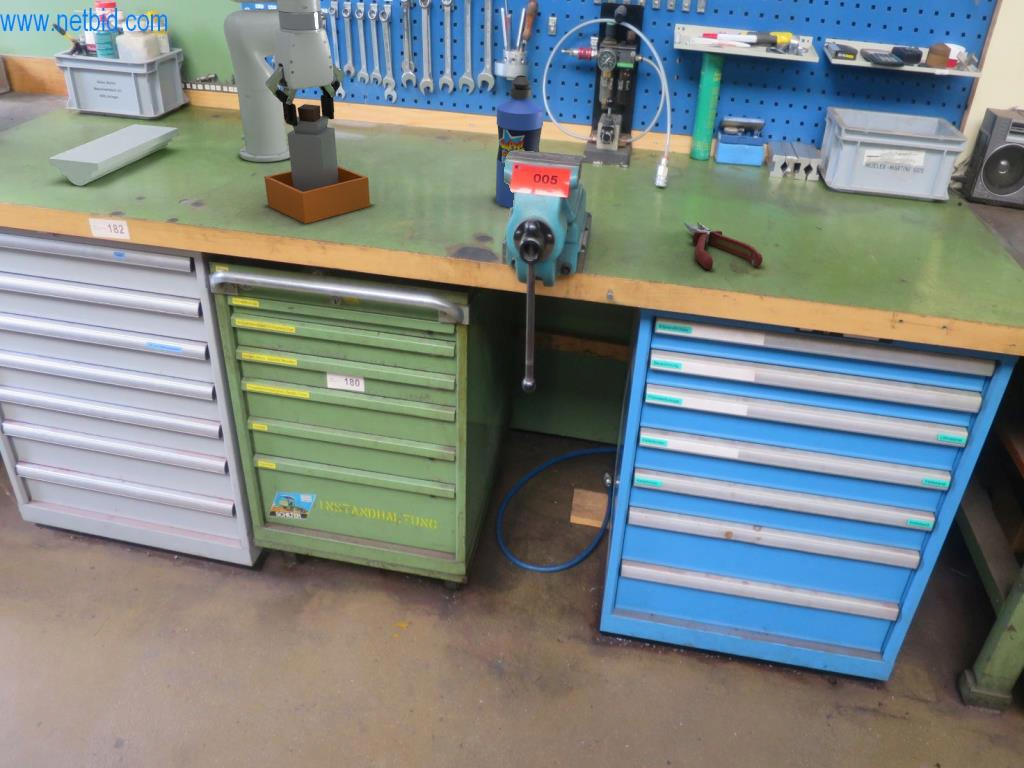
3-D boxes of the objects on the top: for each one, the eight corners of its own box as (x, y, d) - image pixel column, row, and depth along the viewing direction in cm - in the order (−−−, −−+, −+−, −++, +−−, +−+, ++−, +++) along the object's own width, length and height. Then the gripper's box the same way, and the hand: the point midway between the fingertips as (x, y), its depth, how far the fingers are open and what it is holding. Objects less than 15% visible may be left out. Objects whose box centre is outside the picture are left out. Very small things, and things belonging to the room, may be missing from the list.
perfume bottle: (326, 205, 157) (318, 112, 147) (294, 201, 158) (284, 109, 148) (339, 194, 162) (332, 104, 153) (308, 191, 163) (299, 101, 154)
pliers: (716, 227, 157) (719, 215, 156) (764, 268, 140) (767, 254, 139) (662, 230, 155) (664, 217, 154) (703, 272, 138) (706, 258, 137)
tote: (268, 206, 160) (264, 176, 156) (332, 190, 169) (329, 162, 166) (305, 223, 152) (302, 193, 149) (370, 206, 161) (368, 177, 158)
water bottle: (507, 191, 172) (510, 69, 159) (546, 198, 169) (552, 75, 156) (487, 203, 165) (489, 77, 152) (527, 211, 162) (533, 83, 148)
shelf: (182, 150, 190) (178, 128, 188) (103, 188, 165) (97, 163, 163) (139, 146, 192) (134, 124, 189) (55, 183, 167) (48, 158, 164)
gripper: (329, 14, 150) (336, 110, 159) (246, 22, 139) (259, 124, 149) (352, 20, 146) (359, 118, 155) (269, 28, 135) (281, 133, 144)
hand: (310, 120), depth 152 cm, fingers closed on perfume bottle, 7 cm apart
